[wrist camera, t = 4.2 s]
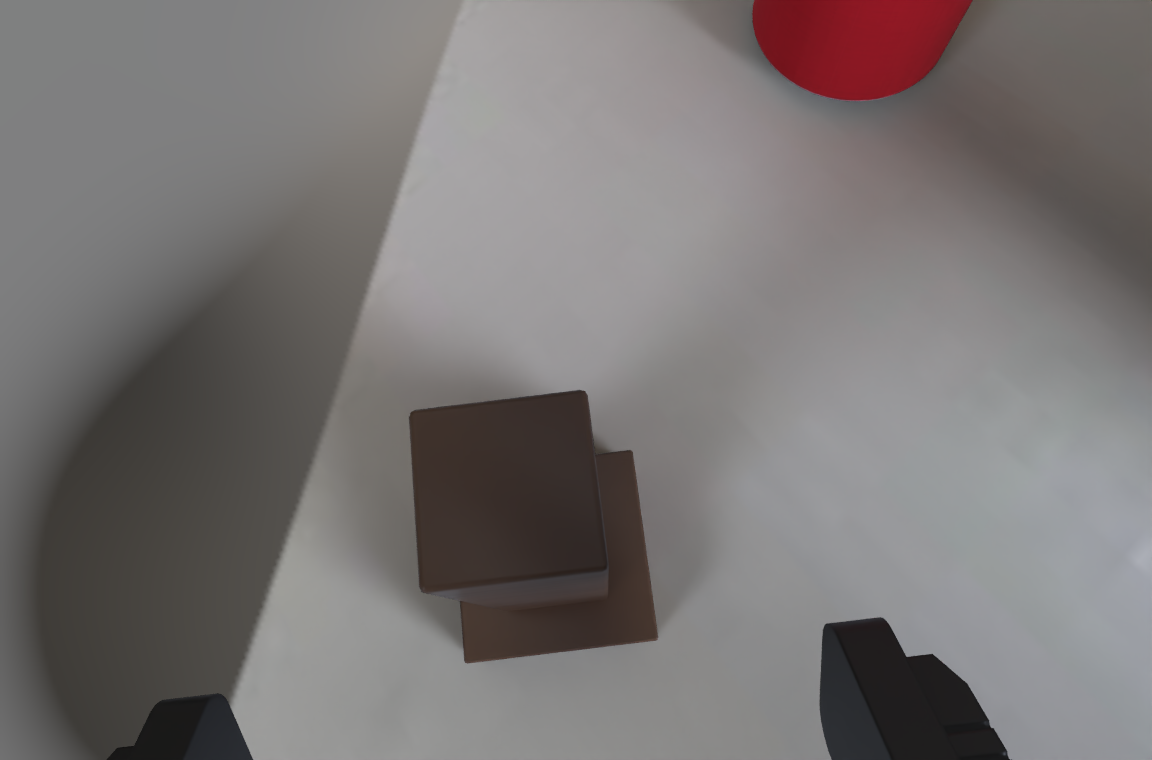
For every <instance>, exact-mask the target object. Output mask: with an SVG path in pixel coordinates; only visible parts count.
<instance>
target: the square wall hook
mask: <svg viewBox="0 0 1152 760" xmlns="http://www.w3.org/2000/svg"><path fill="white" fill-rule="evenodd" d="M409 423H410V440H411V457H412V473H413V490H414V507H415V524H416V540H417V557H418V574H419V588H420V590H421V592H423V593H426V594H431V595H435V596H440V597H444V598H449V599H453V600H458V601H460V607H461V621H462V634H463V648H464V661H465V663H475V662H483V661H491V660H499V659H507V658H516V657H524V656H532V655H540V654H549V653H557V652H565V651H573V650H582V649H590V648H598V647H606V646H615V645H623V644H631V643H639V642H648V641H656V640H658V632H657V625H656V618H655V610H654V603H653V596H652V589H651V581H650V574H649V567H648V560H647V553H646V545H645V538H644V531H643V524H642V516H641V509H640V502H639V495H638V488H637V480H636V473H635V466H634V459H633V452H632V451H631V450H627V451H618V452H610V453H602V454H595V450H594V442H593V434H592V426H591V418H590V410H589V402H588V395H587V394H586V392H585V391H582V390H576V391H568V392H559V393H551V394H543V395H535V396H526V397H518V398H510V399H502V400H494V401H485V402H477V403H469V404H461V405H452V406H444V407H436V408H428V409H419V410H414V411H412V412H411V413H410V416H409Z"/></svg>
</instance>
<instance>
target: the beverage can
mask: <svg viewBox="0 0 1152 760" xmlns="http://www.w3.org/2000/svg"><path fill="white" fill-rule="evenodd" d="M972 1H973V0H754V4H753V13H752V16H753V27H754V32H755V36H756V38H757V41H758V44H759V46H760V48H761V50H762V52H763V54H764V55H765V56H766V58H767V59H768V61H769V62H770V64H771V65H772V66H773V67H774V68H775V69H776V70H777V71H778V72H779V73H780V74H781V75H782V76H784V77H785V78H786V79H788V80H789V81H790V82H792V83H793V84H795V85H797V86H799V87H800V88H802V89H804V90H806V91H809V92H811V93H813V94H816V95H819V96H822V97H826V98H830V99H835V100H843V101H869V100H876V99H880V98H885V97H889V96H891V95H894V94H897V93H899V92H901V91H903V90H905V89H908V88H910V87H911V86H913V85H914V84H916V83H917V82H918V81H920V80H921V79H922V78H924V77H925V76H926V75H927V74H928V73H929V72H930V71H931V70H932V69H933V67H934V66H935V65H936V63H937V62H938V60H939V58H940V57H941V55H942V53H943V52H944V50H945V48H946V46H947V45H948V43H949V41H950V39H951V38H952V36H953V34H954V32H955V31H956V29H957V27H958V25H959V23H960V22H961V20H962V18H963V16H964V15H965V13H966V11H967V9H968V8H969V6H970V4H971V2H972Z"/></svg>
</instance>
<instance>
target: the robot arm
mask: <svg viewBox="0 0 1152 760" xmlns="http://www.w3.org/2000/svg"><path fill="white" fill-rule="evenodd" d="M820 715H821V722H822V727H823V732H824V737H825V740H826V744H827V747H828V751H829V753H830V756H831V759H832V760H1010V759H1009V758H1008V755H1007V750H1006V749H1005V747H1004V745H1003V744H1002V742H1001V740H1000V738H999V737H998V735H997V733H996V732H995V730H994V728H991V727H990V725H989V720H988V718H987V716H986V715H985V713H984V711H983V710H982V708H981V706H980V705H979V703H978V701H977V699H976V698H975V696H974V694H973V693H972V691H971V689H970V688H969V686H968V684H967V683H966V682H965V681H963V680H962V679H961V678H960V677H959V676H958V675H956V674H955V673H954V672H953V671H952V670H951V669H949V668H948V667H947V666H946V665H945V664H944V663H942V662H941V661H940V660H939V659H938V658H937V657H935V656H934V655H933V654H928V655H920V656H911V657H906V655H905V653H904V652H903V650H902V648H901V646H900V644H899V642H898V640H897V638H896V636H895V634H894V633H893V631H892V629H891V627H890V625H889V624H888V623H887V621H886V620H885V619H884V618H881V617H880V618H871V619H863V620H854V621H846V622H837V623H829V624H825V626H824V629H823V637H822V659H821V681H820ZM107 760H253V759H252V756H251V754H250V752H249V749H248V747H247V745H246V742H245V740H244V738H243V736H242V733H241V731H240V729H239V726H238V724H237V722H236V719H235V717H234V715H233V712H232V710H231V708H230V705H229V703H228V701H227V699H226V698H225V697H224V696H223V695H222V694H210V695H201V696H193V697H184V698H176V699H167V700H162V701H160V702H159V703H157V704H156V705H155V706H154V708H153V709H152V711H151V713H150V714H149V716H148V718H147V720H146V723H145V725H144V727H143V729H142V731H141V733H140V735H139V737H138V739H137V741H136V743H135V745H134V746H129V747H121V748H117V749H116V750H115V751H114V752H113V753H112V754H111V756H110V757H109V758H108V759H107Z"/></svg>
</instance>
